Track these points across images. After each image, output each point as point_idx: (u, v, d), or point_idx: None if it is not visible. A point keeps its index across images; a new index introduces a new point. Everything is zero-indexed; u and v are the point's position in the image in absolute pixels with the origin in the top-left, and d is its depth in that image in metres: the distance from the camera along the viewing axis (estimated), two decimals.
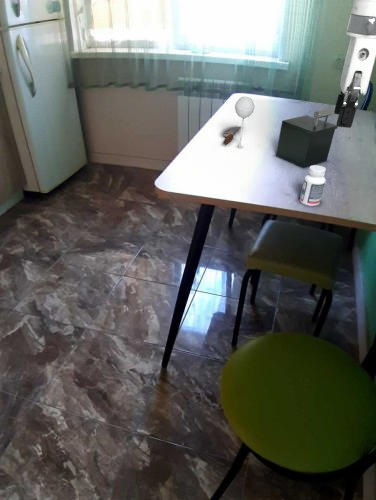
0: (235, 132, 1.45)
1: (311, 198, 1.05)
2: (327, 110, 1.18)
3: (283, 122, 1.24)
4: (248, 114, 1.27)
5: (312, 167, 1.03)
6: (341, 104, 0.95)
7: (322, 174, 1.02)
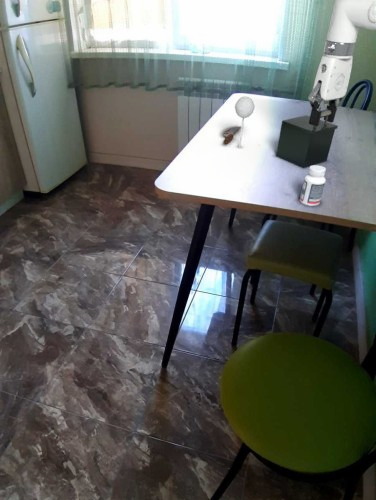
0: (235, 132, 1.45)
1: (311, 198, 1.05)
2: (327, 110, 1.18)
3: (283, 122, 1.24)
4: (248, 114, 1.27)
5: (312, 167, 1.03)
6: None
7: (322, 174, 1.02)
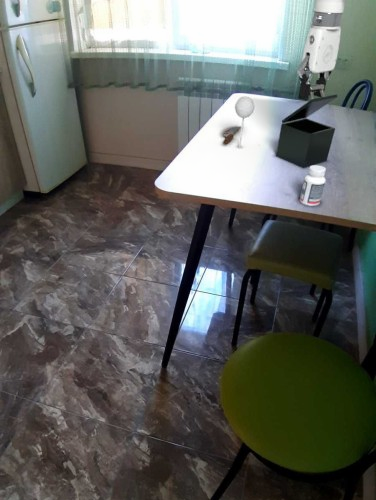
0: (235, 132, 1.45)
1: (311, 198, 1.05)
2: None
3: (283, 120, 1.24)
4: (248, 114, 1.27)
5: (312, 167, 1.03)
6: None
7: (322, 174, 1.02)
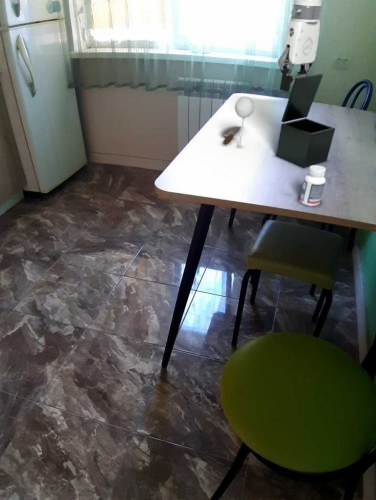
0: (235, 132, 1.45)
1: (311, 198, 1.05)
2: None
3: (282, 119, 1.24)
4: (248, 114, 1.27)
5: (312, 167, 1.03)
6: None
7: (322, 174, 1.02)
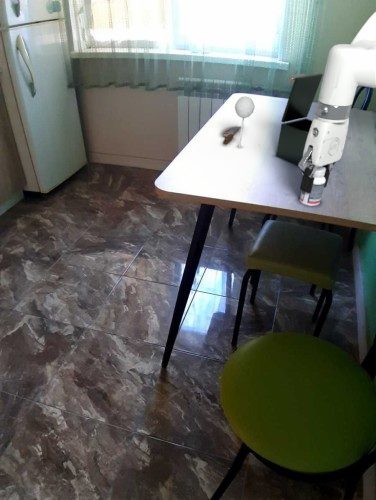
0: (235, 132, 1.45)
1: (311, 198, 1.05)
2: None
3: (282, 119, 1.24)
4: (248, 114, 1.27)
5: None
6: None
7: (322, 174, 1.02)
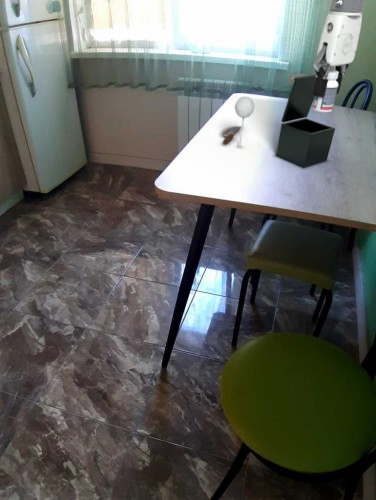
0: (235, 132, 1.45)
1: (324, 103, 1.06)
2: None
3: (282, 119, 1.24)
4: (248, 114, 1.27)
5: None
6: None
7: (335, 77, 1.03)
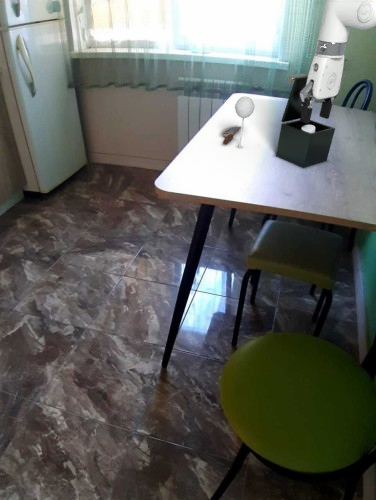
0: (235, 132, 1.45)
1: None
2: None
3: (282, 119, 1.24)
4: (248, 114, 1.27)
5: (303, 127, 1.23)
6: (323, 109, 1.22)
7: None
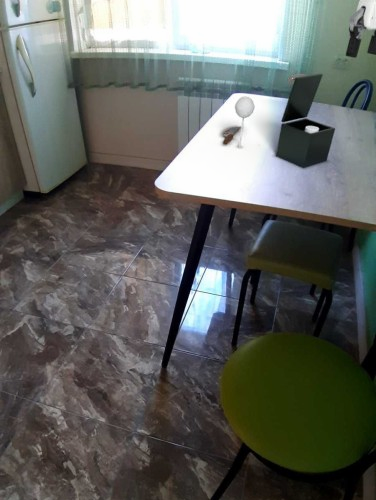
0: (235, 132, 1.45)
1: None
2: None
3: (282, 119, 1.24)
4: (248, 114, 1.27)
5: (307, 127, 1.24)
6: (372, 44, 1.12)
7: None
